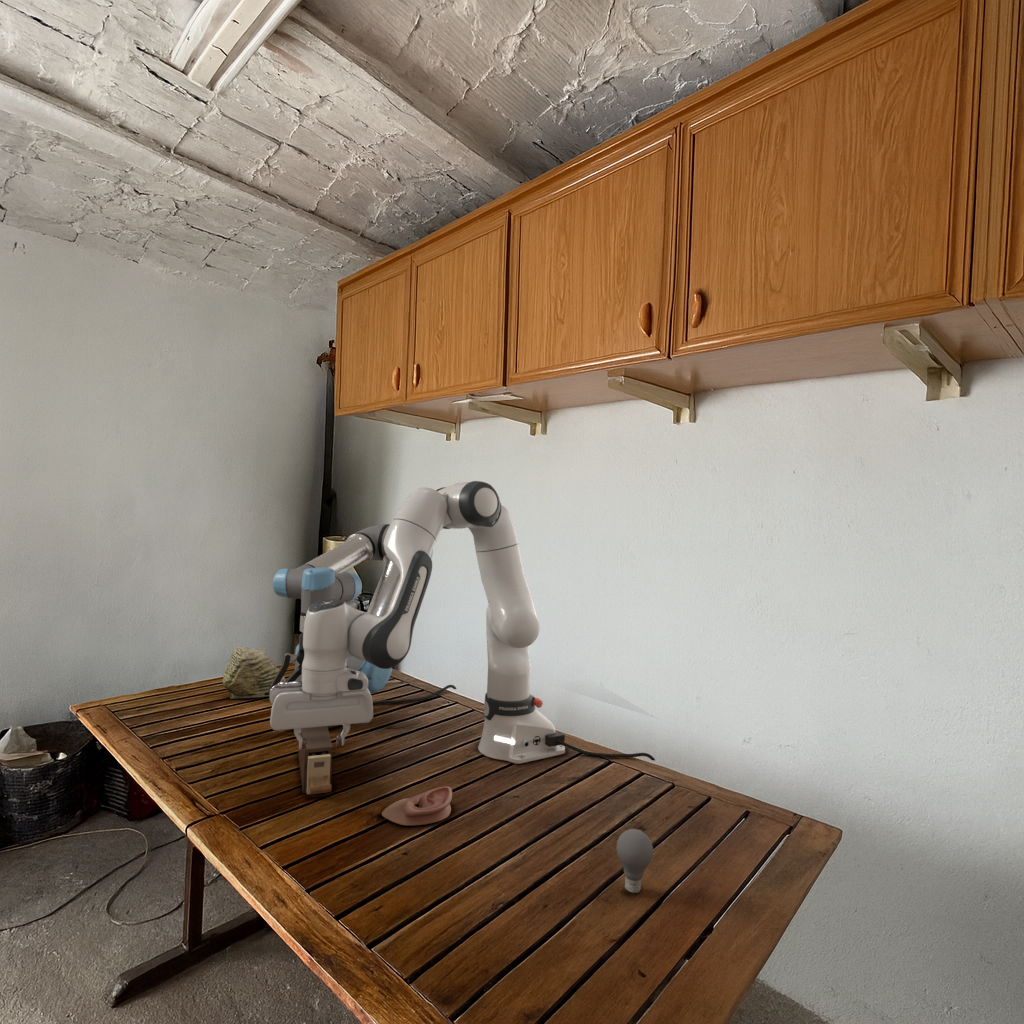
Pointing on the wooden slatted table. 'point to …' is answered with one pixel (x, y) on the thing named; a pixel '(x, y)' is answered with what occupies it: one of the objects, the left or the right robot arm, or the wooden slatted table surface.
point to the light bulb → (634, 857)
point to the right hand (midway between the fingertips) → (321, 746)
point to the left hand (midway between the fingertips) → (312, 721)
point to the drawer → (318, 773)
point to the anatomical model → (421, 808)
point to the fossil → (249, 673)
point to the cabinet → (314, 749)
